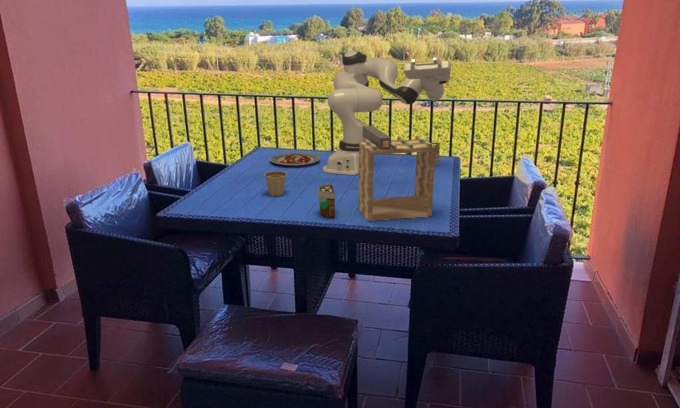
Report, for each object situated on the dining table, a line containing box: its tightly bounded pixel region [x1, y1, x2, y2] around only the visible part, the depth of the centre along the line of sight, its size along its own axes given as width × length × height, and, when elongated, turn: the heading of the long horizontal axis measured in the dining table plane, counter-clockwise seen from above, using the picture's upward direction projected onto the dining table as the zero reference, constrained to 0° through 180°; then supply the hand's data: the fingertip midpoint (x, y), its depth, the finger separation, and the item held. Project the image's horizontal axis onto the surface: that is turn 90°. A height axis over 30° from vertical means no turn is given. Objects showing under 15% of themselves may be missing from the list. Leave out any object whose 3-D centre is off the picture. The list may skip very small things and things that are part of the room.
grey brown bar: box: [362, 125, 392, 150], centre depth 187 cm, size 24×4×4 cm, turn 12°
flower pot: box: [263, 170, 288, 197], centre depth 213 cm, size 9×9×9 cm
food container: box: [316, 183, 336, 219], centre depth 190 cm, size 12×6×10 cm, turn 5°
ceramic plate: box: [269, 151, 321, 167], centre depth 265 cm, size 26×26×3 cm
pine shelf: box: [357, 135, 436, 222], centre depth 189 cm, size 14×24×27 cm, turn 102°
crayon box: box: [430, 142, 441, 166], centre depth 259 cm, size 7×3×12 cm, turn 98°
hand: (424, 59), depth 216 cm, fingers open, 8 cm apart
